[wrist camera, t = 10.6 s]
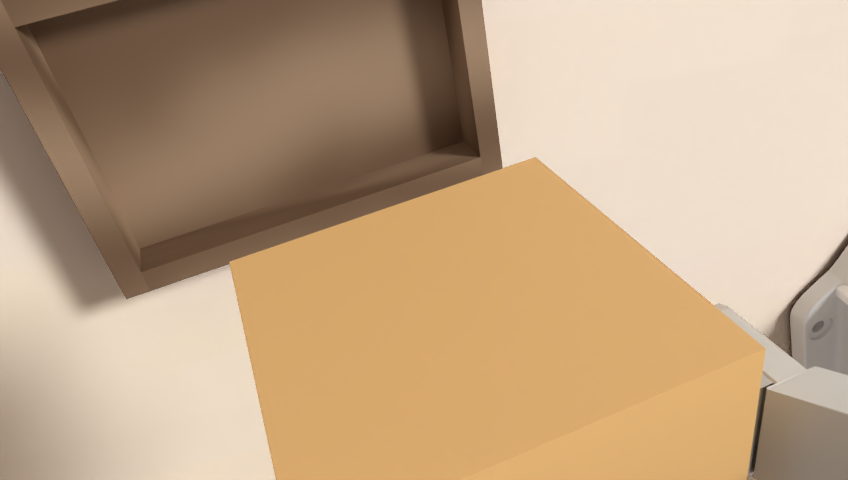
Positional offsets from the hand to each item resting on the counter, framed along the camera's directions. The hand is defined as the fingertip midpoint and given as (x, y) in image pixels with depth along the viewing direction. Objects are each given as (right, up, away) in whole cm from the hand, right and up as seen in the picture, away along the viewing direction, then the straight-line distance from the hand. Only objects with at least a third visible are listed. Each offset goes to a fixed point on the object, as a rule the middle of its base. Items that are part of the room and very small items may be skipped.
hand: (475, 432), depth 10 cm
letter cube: (-1, +1, +2) cm, 2 cm away
